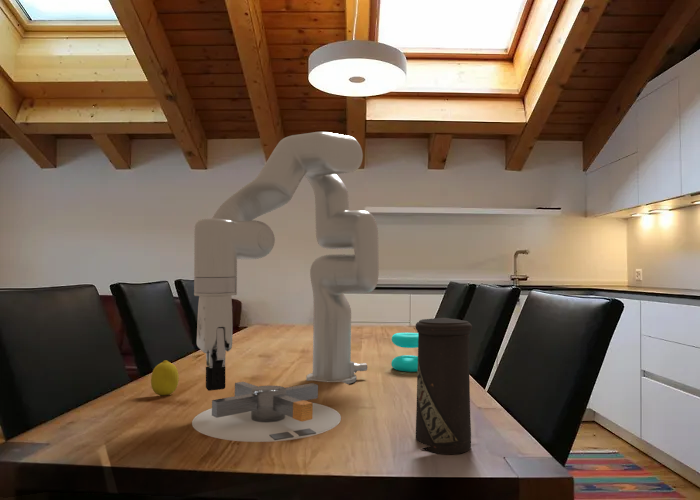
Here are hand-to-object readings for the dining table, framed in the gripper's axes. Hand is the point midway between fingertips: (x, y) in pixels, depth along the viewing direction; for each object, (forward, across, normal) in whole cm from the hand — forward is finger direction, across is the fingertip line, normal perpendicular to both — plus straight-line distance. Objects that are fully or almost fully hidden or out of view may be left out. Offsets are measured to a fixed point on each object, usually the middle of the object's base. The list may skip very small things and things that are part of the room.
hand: (215, 388), depth 91 cm
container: (+6, +27, +30) cm, 41 cm away
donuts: (+8, -31, +59) cm, 67 cm away
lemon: (+6, -21, -7) cm, 23 cm away
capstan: (+5, +5, +8) cm, 11 cm away
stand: (+6, +5, +8) cm, 11 cm away
